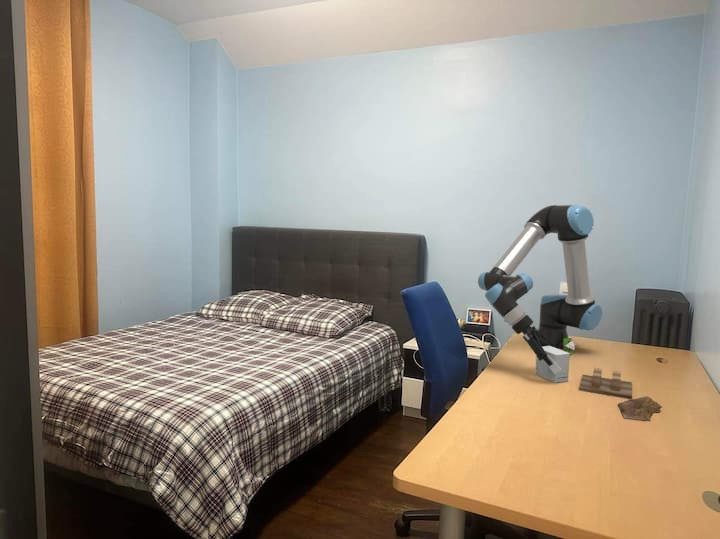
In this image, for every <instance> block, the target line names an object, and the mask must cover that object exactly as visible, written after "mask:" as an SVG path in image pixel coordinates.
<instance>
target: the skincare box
mask: <svg viewBox="0 0 720 539" xmlns="http://www.w3.org/2000/svg"><path fill="white" fill-rule="evenodd" d="M543 349H544V351H545V352H546V354H547V355H549V356H550V357H551V358H552V359H553V361H554V362H555V363H556V364H557V365H558V366H559V367H560V368H561V371H559V372H558V373H556V374H554V373H553V372H552V370H551V369H550V368H549V367H548V366H547V365H546V364H545V362H544V361H543V360H541V361H540V360H539V359H538V357H537V356H536V355H535V356H536V359H535V374H534V375H537V376H539V377H541V378H543V379H546V380H548V381H550V382H552V383H554V384H556V383H564V382H569V371H570V359H571V358H570V357H571V354H570V353H568V352H565V351H564V350H563V349H557V348H554V347H552V346H544V347H543Z"/></svg>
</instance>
